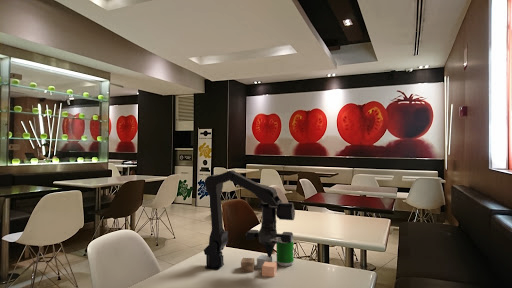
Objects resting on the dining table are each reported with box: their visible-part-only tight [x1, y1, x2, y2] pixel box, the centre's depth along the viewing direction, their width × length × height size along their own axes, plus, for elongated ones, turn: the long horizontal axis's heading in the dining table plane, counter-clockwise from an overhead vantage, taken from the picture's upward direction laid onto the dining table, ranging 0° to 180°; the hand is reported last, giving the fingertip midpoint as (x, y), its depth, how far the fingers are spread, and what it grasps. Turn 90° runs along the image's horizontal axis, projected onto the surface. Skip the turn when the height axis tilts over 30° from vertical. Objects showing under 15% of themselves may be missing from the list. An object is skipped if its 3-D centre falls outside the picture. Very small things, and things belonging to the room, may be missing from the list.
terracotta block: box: [261, 261, 278, 278], centre depth 124 cm, size 5×5×4 cm
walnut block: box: [240, 257, 255, 273], centre depth 129 cm, size 5×5×4 cm
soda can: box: [275, 239, 295, 267], centre depth 134 cm, size 8×8×12 cm
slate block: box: [256, 254, 273, 269], centre depth 132 cm, size 5×5×4 cm
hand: (269, 257), depth 124 cm, fingers closed
